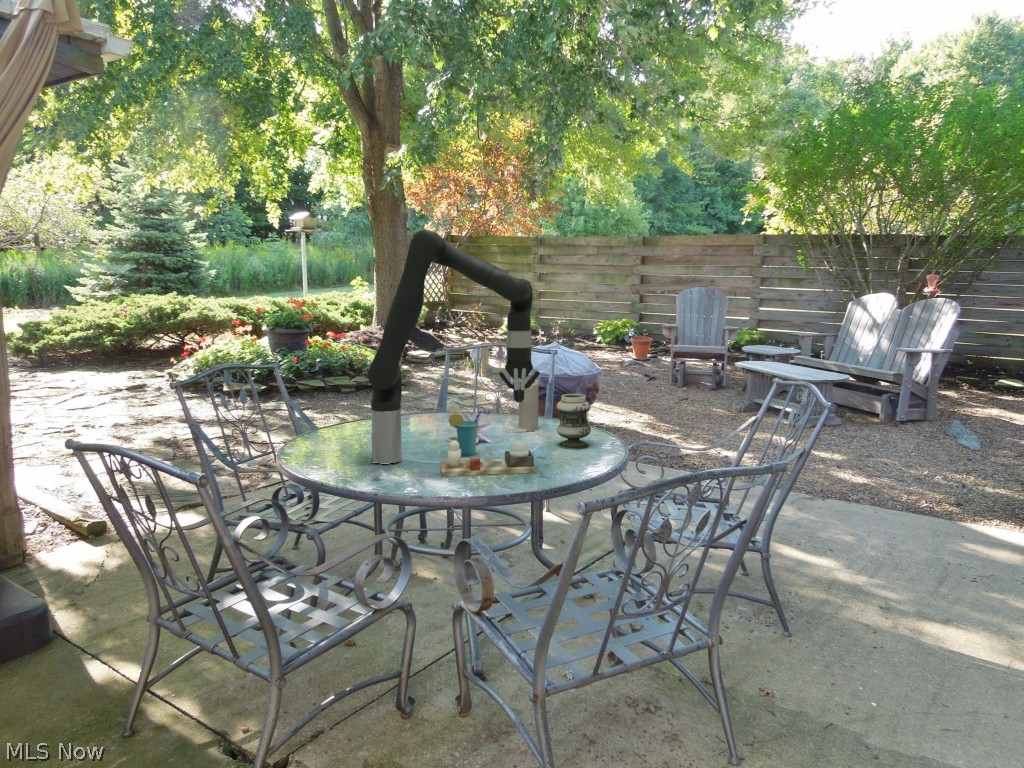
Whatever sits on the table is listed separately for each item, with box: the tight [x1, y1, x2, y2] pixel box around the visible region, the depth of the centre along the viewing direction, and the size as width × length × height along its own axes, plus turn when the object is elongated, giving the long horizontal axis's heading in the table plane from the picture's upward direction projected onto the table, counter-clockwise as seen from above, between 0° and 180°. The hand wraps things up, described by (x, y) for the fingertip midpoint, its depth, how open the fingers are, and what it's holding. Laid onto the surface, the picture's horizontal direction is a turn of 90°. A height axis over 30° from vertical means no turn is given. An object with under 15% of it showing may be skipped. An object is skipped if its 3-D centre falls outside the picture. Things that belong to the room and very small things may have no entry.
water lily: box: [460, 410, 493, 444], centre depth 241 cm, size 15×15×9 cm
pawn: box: [447, 440, 462, 467], centre depth 203 cm, size 4×4×8 cm
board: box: [440, 449, 536, 477], centre depth 205 cm, size 28×12×5 cm, turn 97°
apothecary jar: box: [556, 393, 592, 450], centre depth 233 cm, size 12×12×18 cm
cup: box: [448, 409, 491, 457], centre depth 222 cm, size 14×8×15 cm, turn 99°
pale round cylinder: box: [508, 439, 530, 457], centre depth 206 cm, size 6×6×6 cm
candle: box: [502, 379, 540, 433], centre depth 256 cm, size 7×14×20 cm, turn 107°
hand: (519, 401), depth 203 cm, fingers closed
